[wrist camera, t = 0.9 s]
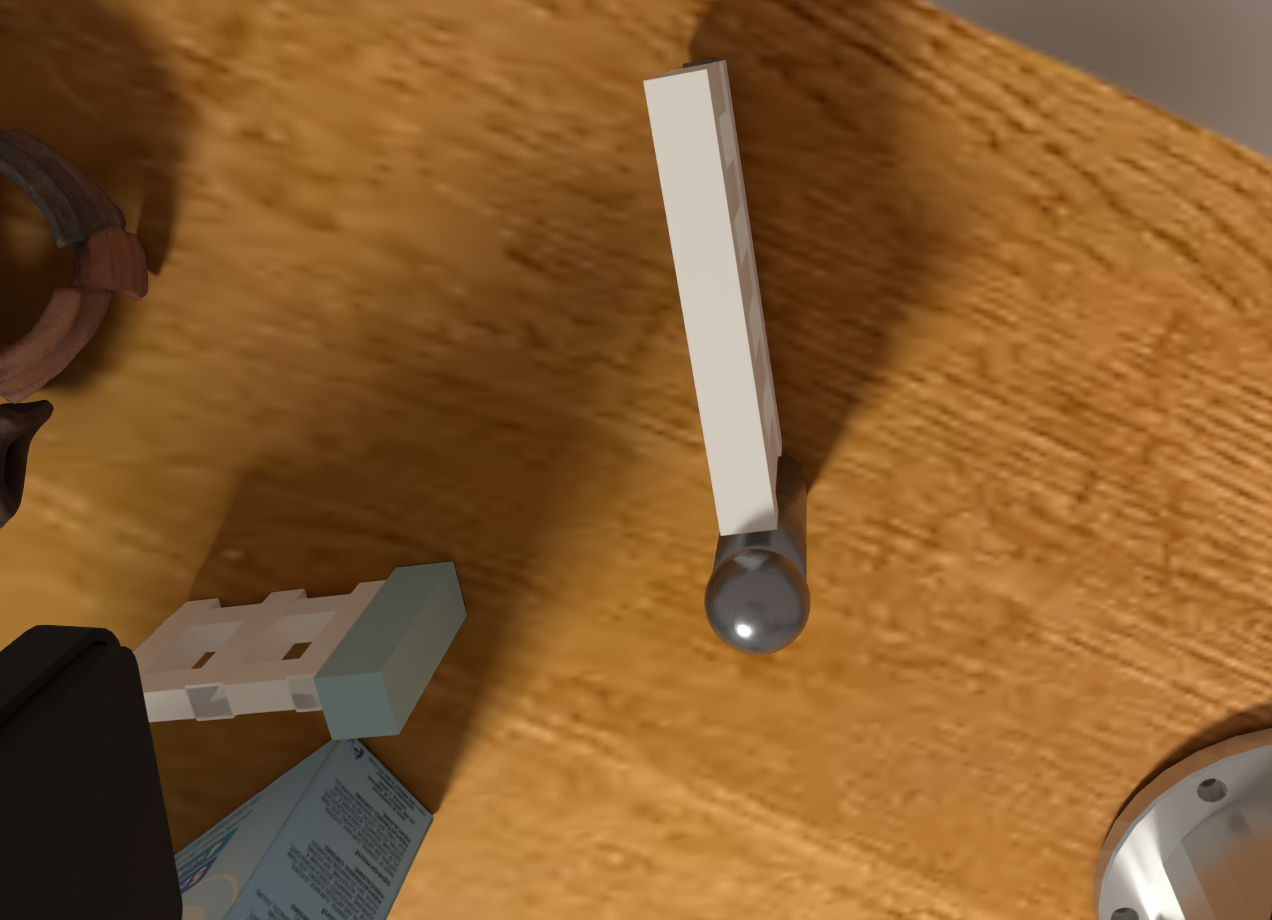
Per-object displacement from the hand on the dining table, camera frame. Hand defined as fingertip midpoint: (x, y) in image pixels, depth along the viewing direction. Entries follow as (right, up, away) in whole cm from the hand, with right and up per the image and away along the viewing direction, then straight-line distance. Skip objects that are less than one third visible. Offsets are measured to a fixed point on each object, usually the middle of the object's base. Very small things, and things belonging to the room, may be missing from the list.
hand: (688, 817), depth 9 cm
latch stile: (-7, -2, +29) cm, 30 cm away
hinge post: (+4, +2, +26) cm, 27 cm away
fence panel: (-12, -2, +30) cm, 33 cm away
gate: (+2, +9, +24) cm, 26 cm away
